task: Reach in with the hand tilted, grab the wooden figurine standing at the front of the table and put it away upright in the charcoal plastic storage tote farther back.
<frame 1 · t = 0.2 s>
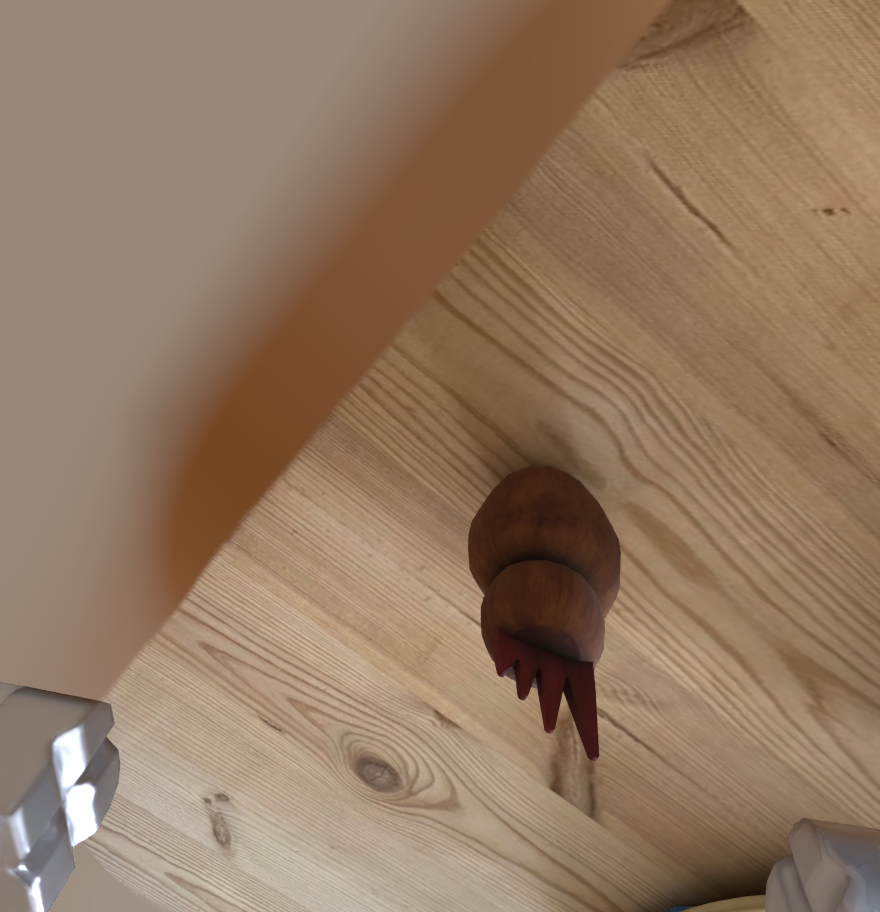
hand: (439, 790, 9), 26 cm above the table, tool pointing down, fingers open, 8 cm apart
wooden figurine: (545, 502, 37), on the table
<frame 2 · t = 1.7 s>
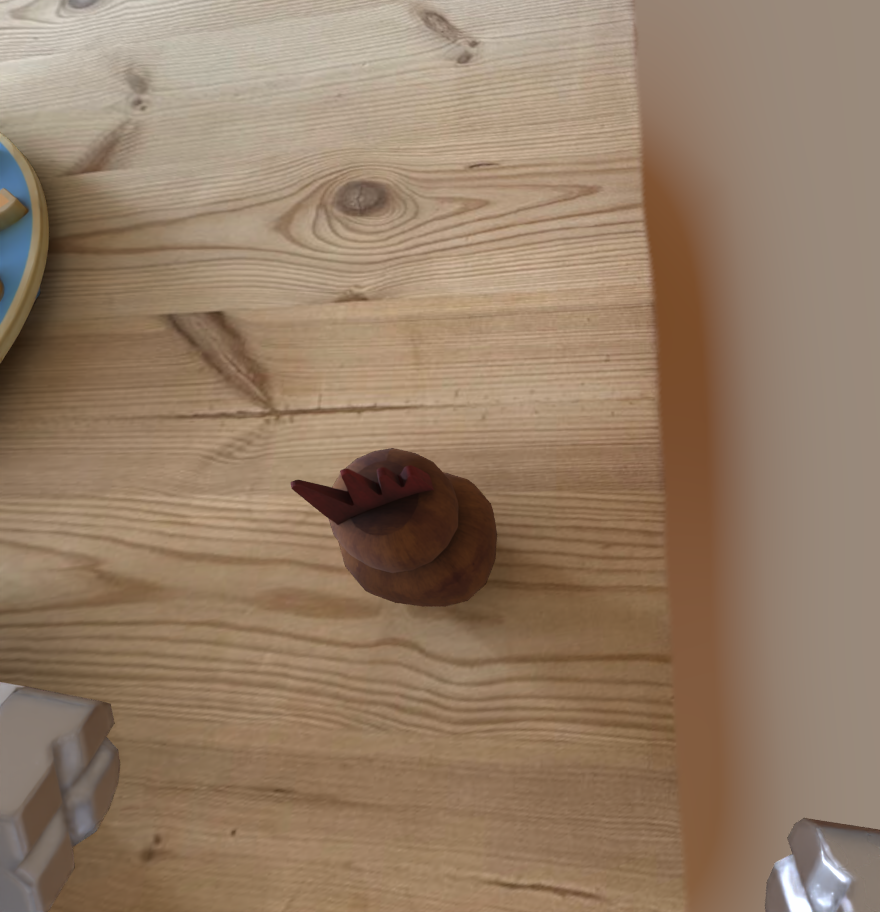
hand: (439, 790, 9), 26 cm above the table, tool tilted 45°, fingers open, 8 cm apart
wooden figurine: (439, 557, 37), on the table
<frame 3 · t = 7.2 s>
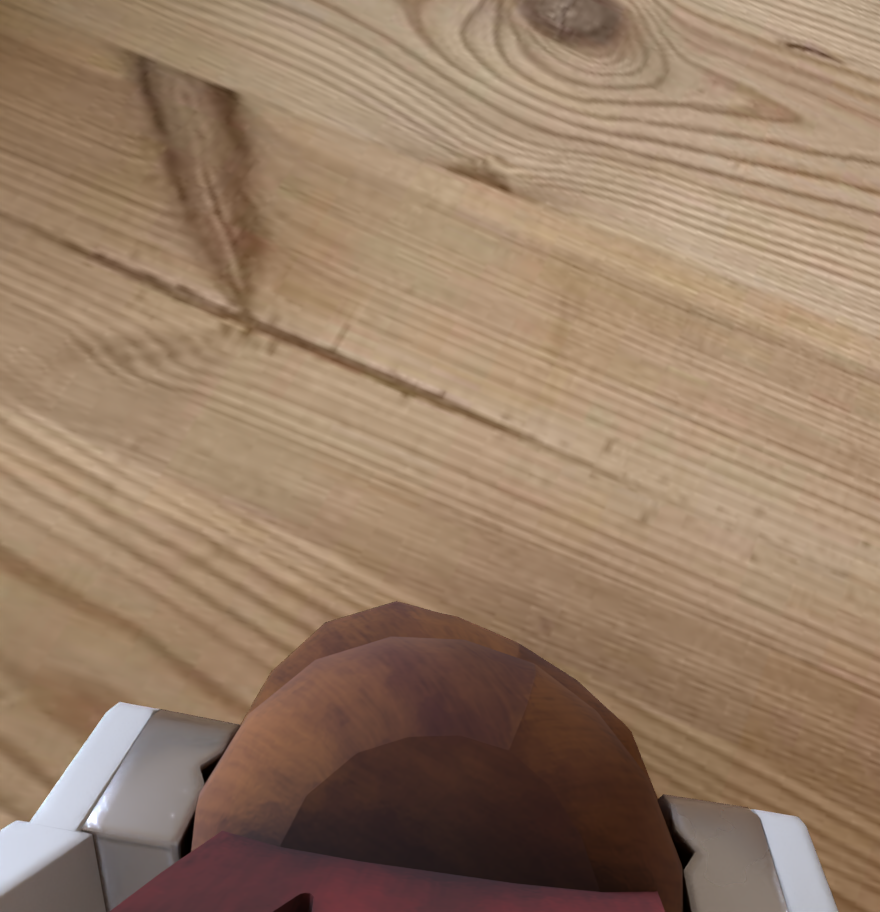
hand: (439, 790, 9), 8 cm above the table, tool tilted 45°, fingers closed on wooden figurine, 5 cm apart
wooden figurine: (441, 772, 17), on the table, touching gripper
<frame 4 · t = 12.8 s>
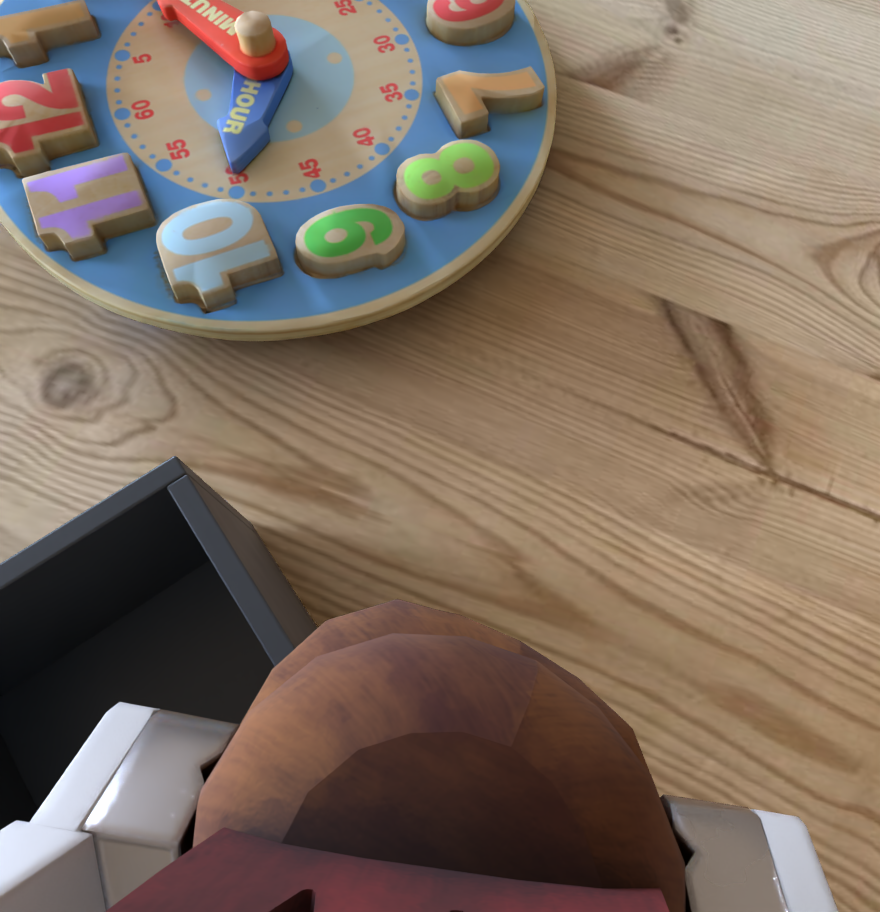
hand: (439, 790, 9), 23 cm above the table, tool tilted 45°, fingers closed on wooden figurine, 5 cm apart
wooden figurine: (442, 770, 17), point 15 cm above the table, touching gripper
shape sorting clock: (281, 120, 41), on the table
tote: (193, 741, 31), on the table
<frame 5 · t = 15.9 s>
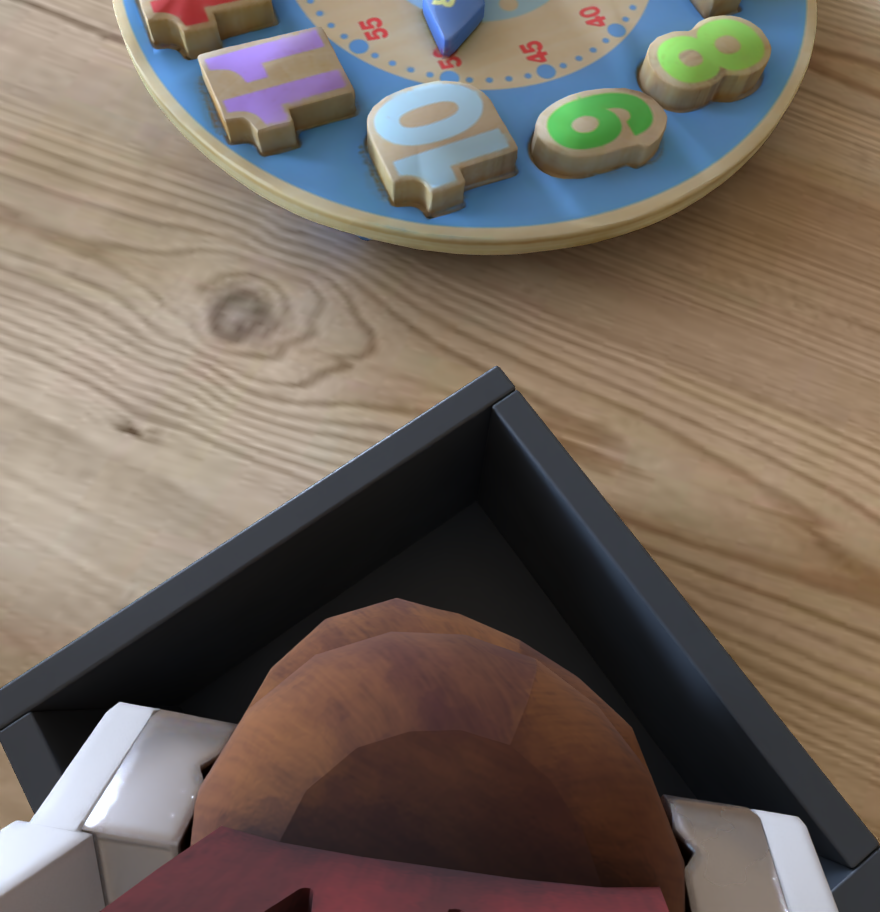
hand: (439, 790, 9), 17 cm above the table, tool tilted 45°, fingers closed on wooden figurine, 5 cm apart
wooden figurine: (441, 770, 17), point 8 cm above the table, touching gripper
shape sorting clock: (468, 11, 35), on the table
tote: (434, 751, 24), on the table
when the fingers open (9 cm above the table, at t = 18.4 s): wooden figurine stays where it is, resting on tote.
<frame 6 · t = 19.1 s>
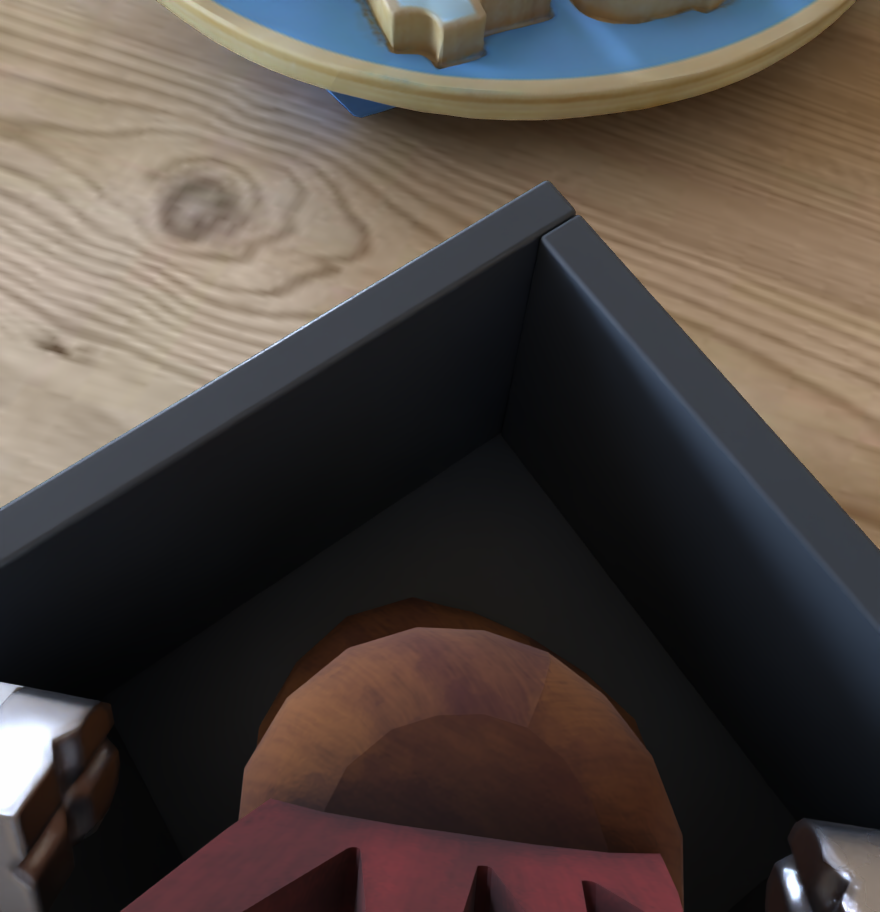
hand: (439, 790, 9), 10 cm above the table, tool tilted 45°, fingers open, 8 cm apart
wooden figurine: (452, 761, 17), point 1 cm above the table, touching tote
tote: (444, 763, 18), on the table
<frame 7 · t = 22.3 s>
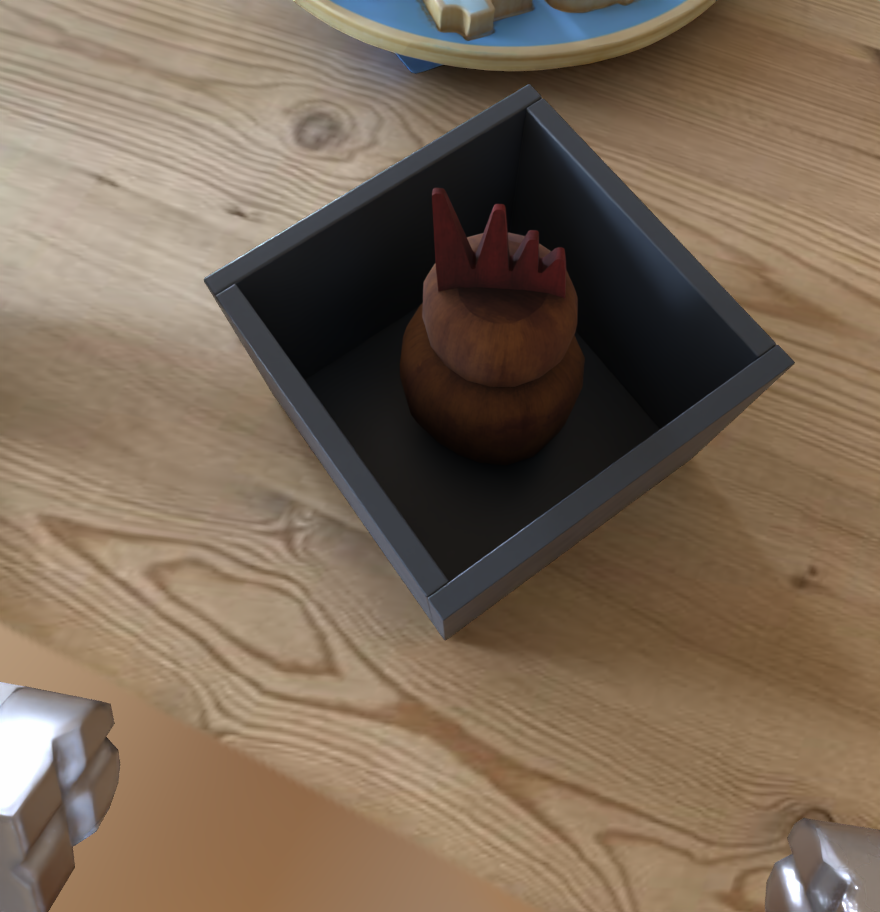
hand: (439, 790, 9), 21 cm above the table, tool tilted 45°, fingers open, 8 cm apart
wooden figurine: (484, 416, 32), point 1 cm above the table, touching tote
tote: (479, 424, 33), on the table
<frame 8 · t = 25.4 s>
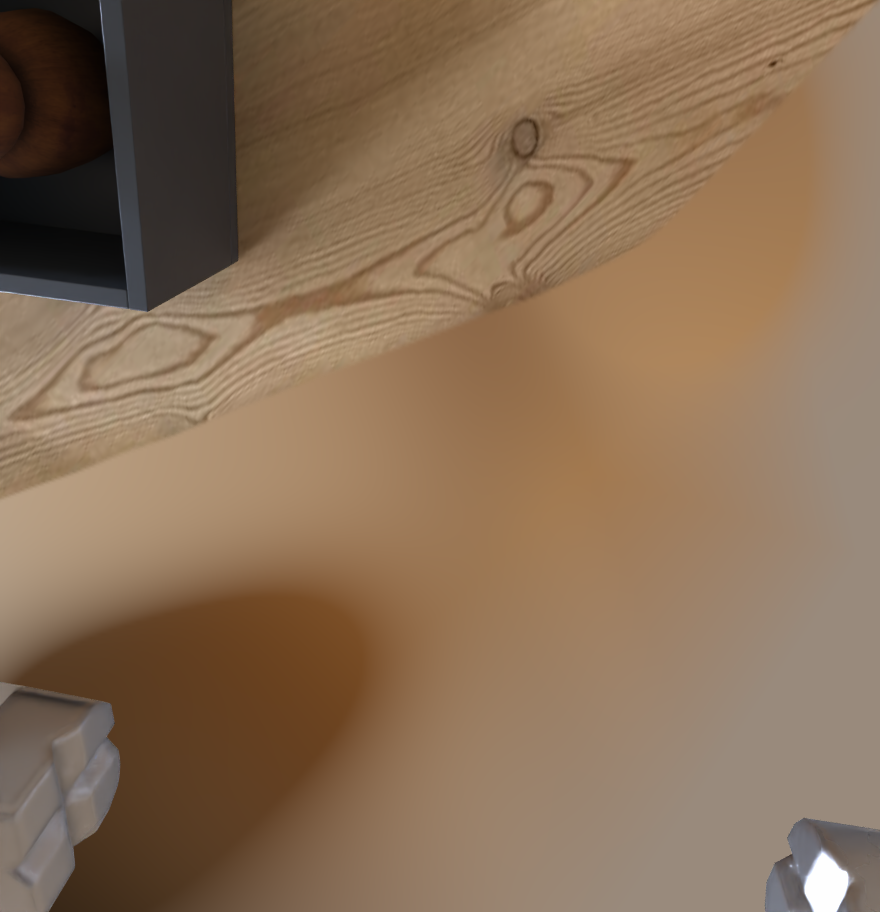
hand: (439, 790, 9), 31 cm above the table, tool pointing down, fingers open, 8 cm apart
wooden figurine: (90, 98, 34), point 1 cm above the table, touching tote
tote: (99, 102, 35), on the table
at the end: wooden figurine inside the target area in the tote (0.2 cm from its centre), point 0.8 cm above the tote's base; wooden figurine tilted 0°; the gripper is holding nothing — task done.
